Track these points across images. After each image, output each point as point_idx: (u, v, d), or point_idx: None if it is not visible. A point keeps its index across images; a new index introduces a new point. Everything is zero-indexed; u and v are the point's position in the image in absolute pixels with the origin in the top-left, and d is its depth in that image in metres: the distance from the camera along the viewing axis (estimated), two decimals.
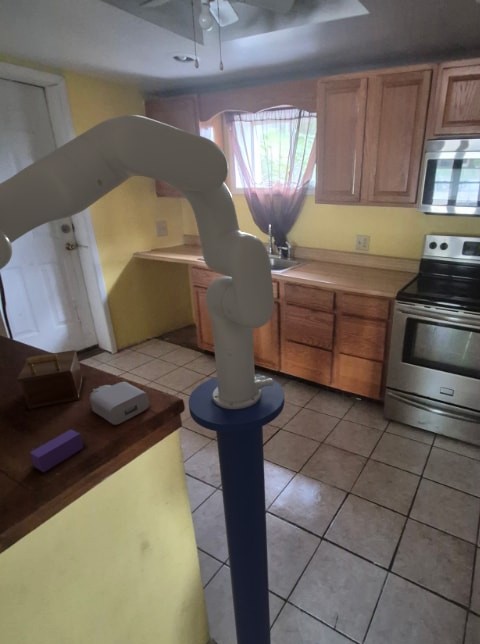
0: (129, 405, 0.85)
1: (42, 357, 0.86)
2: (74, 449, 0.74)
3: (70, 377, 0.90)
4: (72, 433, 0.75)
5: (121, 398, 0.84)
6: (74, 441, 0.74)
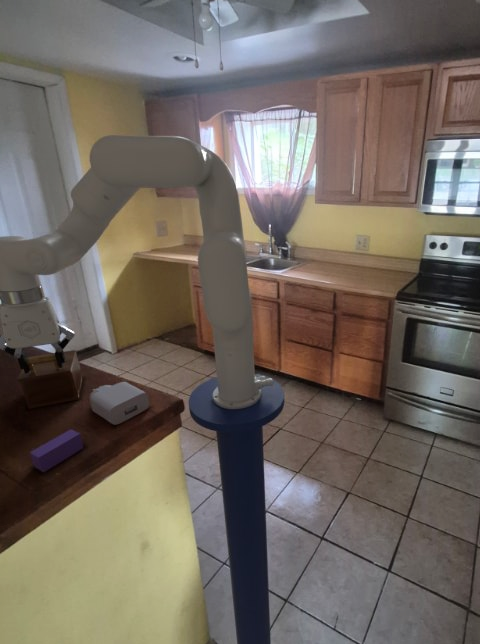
0: (129, 405, 0.85)
1: (42, 357, 0.86)
2: (74, 449, 0.74)
3: (70, 377, 0.90)
4: (72, 433, 0.75)
5: (121, 398, 0.84)
6: (74, 441, 0.74)
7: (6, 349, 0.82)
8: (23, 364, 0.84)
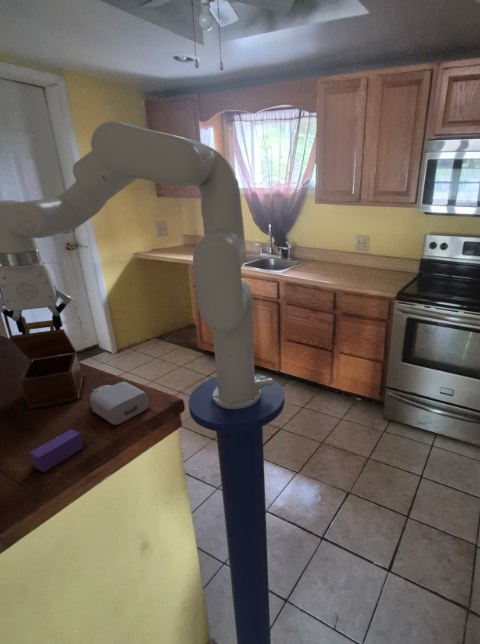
0: (129, 405, 0.85)
1: (40, 321, 0.89)
2: (74, 449, 0.74)
3: (70, 377, 0.90)
4: (72, 433, 0.75)
5: (121, 398, 0.84)
6: (74, 441, 0.74)
7: (4, 312, 0.85)
8: (21, 327, 0.87)
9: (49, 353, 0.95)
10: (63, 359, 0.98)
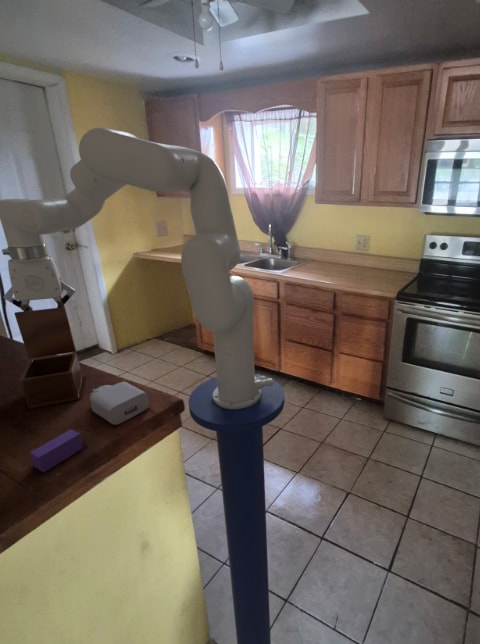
0: (129, 405, 0.85)
1: None
2: (74, 449, 0.74)
3: (70, 377, 0.90)
4: (72, 433, 0.75)
5: (121, 398, 0.84)
6: (74, 441, 0.74)
7: (13, 301, 0.92)
8: None
9: (49, 348, 0.96)
10: (63, 359, 0.98)
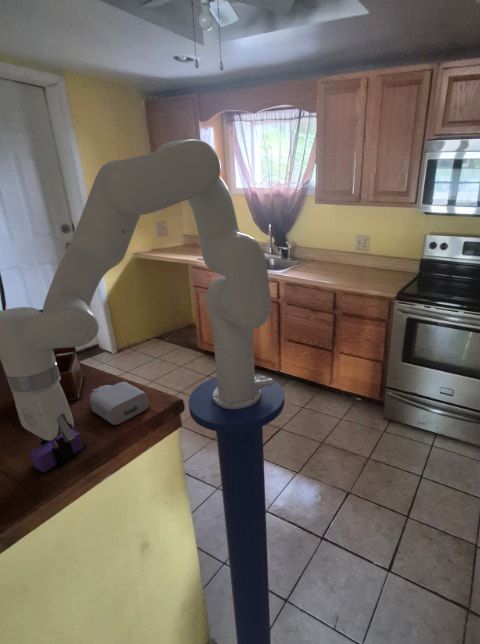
0: (129, 405, 0.84)
1: None
2: (74, 448, 0.74)
3: (70, 377, 0.90)
4: None
5: (121, 398, 0.84)
6: (74, 441, 0.74)
7: None
8: None
9: None
10: (63, 359, 0.98)
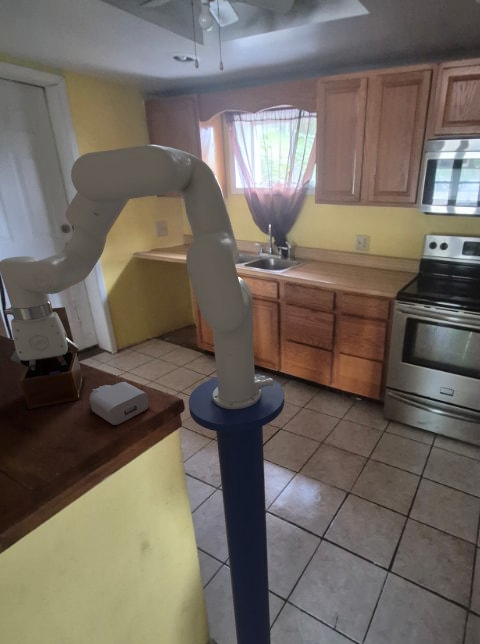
0: (128, 405, 0.84)
1: None
2: None
3: (70, 377, 0.90)
4: (56, 372, 0.96)
5: (121, 398, 0.84)
6: None
7: (22, 361, 0.88)
8: (38, 375, 0.90)
9: None
10: None
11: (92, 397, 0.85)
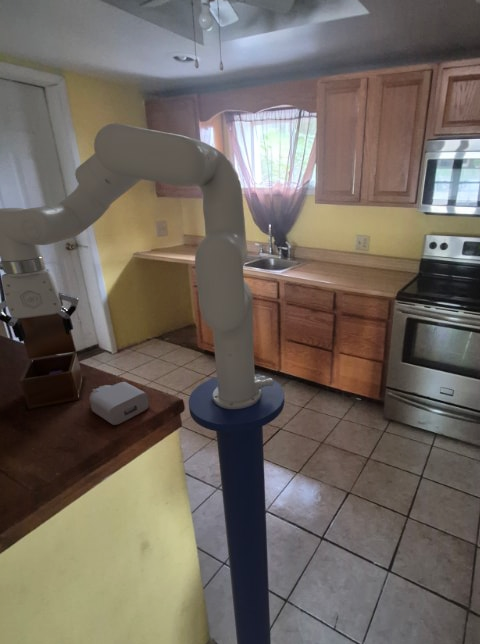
0: (128, 405, 0.84)
1: None
2: None
3: (70, 377, 0.90)
4: (56, 372, 0.96)
5: (121, 398, 0.84)
6: None
7: (0, 317, 0.84)
8: (17, 332, 0.86)
9: (49, 348, 0.96)
10: (63, 359, 0.98)
11: (92, 397, 0.85)
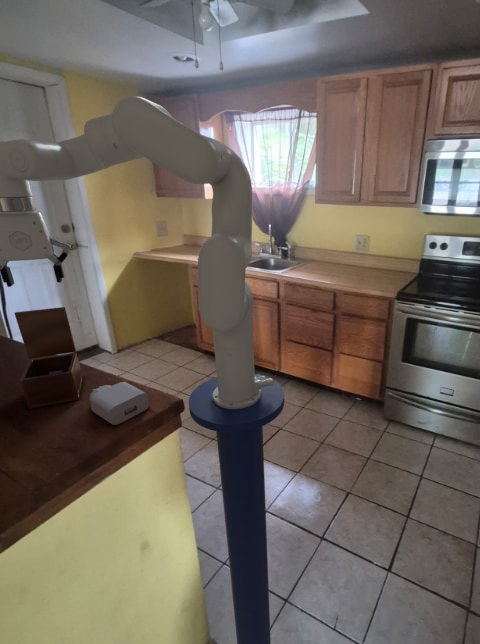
0: (128, 405, 0.84)
1: None
2: None
3: (70, 377, 0.90)
4: (56, 372, 0.96)
5: (121, 398, 0.84)
6: None
7: None
8: (5, 276, 0.82)
9: (49, 348, 0.96)
10: (63, 359, 0.98)
11: (92, 397, 0.85)
